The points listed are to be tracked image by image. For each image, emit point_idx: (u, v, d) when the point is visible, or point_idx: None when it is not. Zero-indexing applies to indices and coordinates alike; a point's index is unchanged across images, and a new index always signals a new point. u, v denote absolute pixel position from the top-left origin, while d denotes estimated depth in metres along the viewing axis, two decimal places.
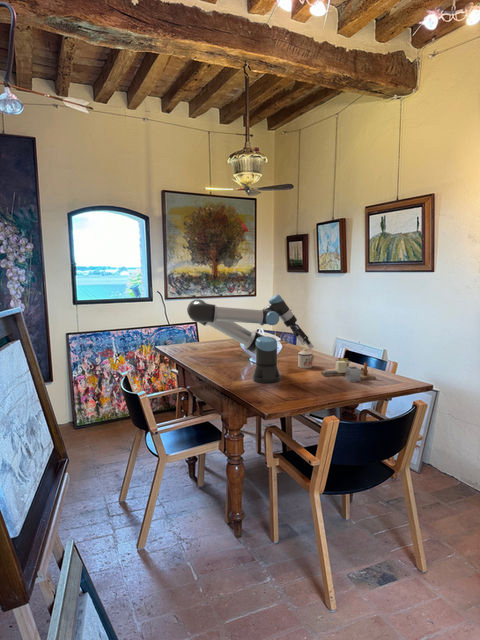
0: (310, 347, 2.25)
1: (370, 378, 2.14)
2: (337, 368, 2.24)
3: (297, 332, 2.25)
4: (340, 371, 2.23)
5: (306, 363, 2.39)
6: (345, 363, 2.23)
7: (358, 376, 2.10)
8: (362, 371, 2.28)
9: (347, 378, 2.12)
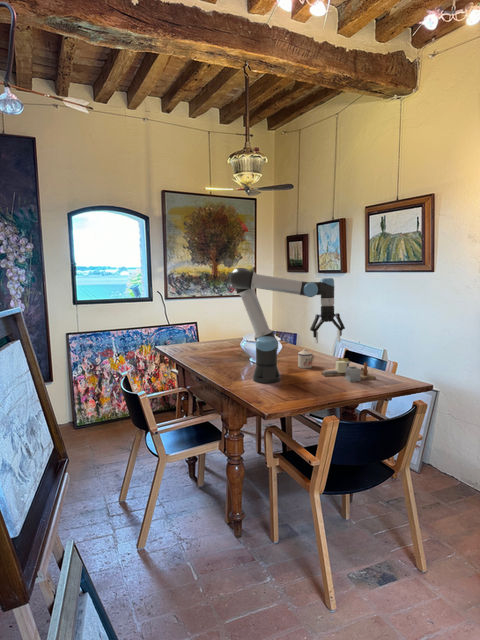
0: (315, 341, 2.21)
1: (370, 378, 2.14)
2: (337, 368, 2.24)
3: None
4: (340, 371, 2.23)
5: (306, 363, 2.39)
6: (345, 363, 2.23)
7: (358, 376, 2.10)
8: (362, 371, 2.28)
9: (347, 378, 2.12)
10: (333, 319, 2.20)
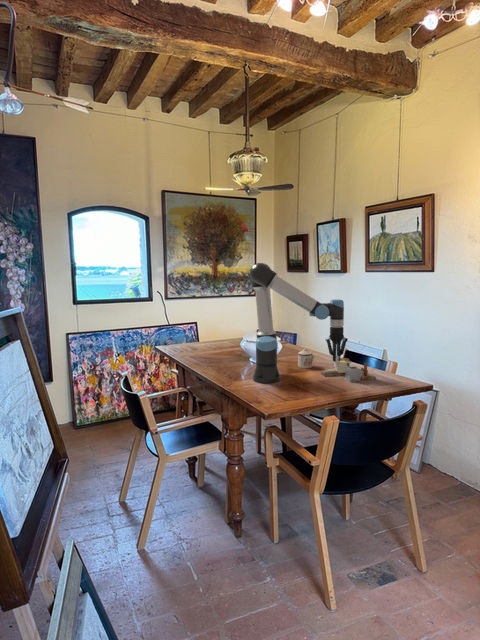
0: (334, 365, 2.25)
1: (370, 378, 2.14)
2: (337, 368, 2.24)
3: None
4: (340, 371, 2.23)
5: (306, 363, 2.39)
6: (345, 363, 2.23)
7: (358, 376, 2.10)
8: (362, 371, 2.28)
9: (347, 378, 2.12)
10: (340, 341, 2.21)
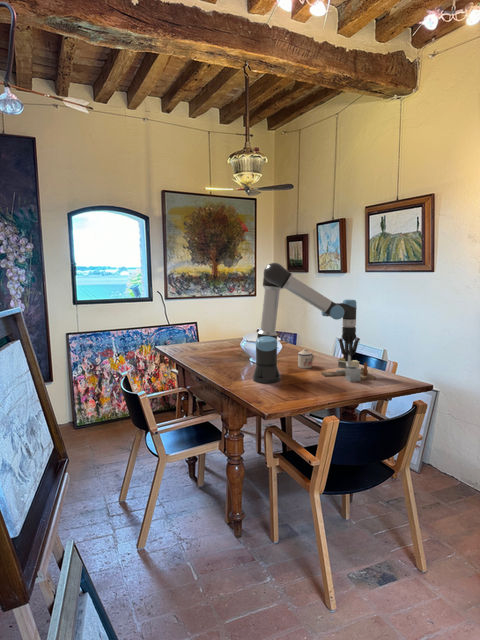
0: (346, 364, 2.26)
1: (370, 378, 2.14)
2: None
3: None
4: None
5: (306, 363, 2.39)
6: (357, 362, 2.24)
7: (358, 376, 2.10)
8: (362, 371, 2.28)
9: (347, 378, 2.12)
10: (352, 341, 2.22)
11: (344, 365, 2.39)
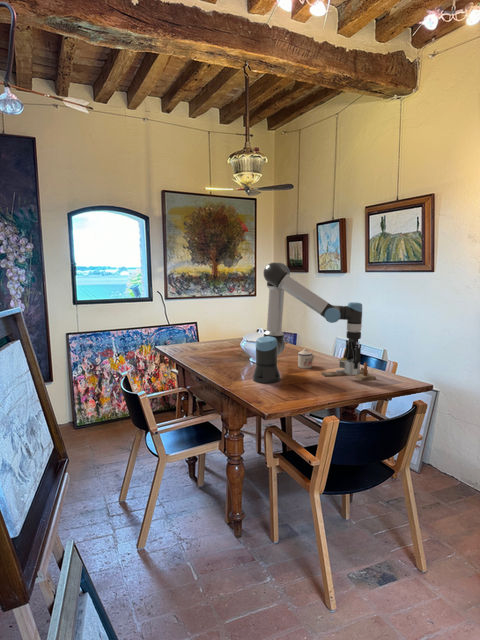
0: (354, 372, 2.09)
1: (370, 378, 2.14)
2: None
3: (353, 350, 2.08)
4: None
5: (306, 363, 2.39)
6: None
7: None
8: (362, 371, 2.28)
9: (346, 371, 2.12)
10: None
11: None
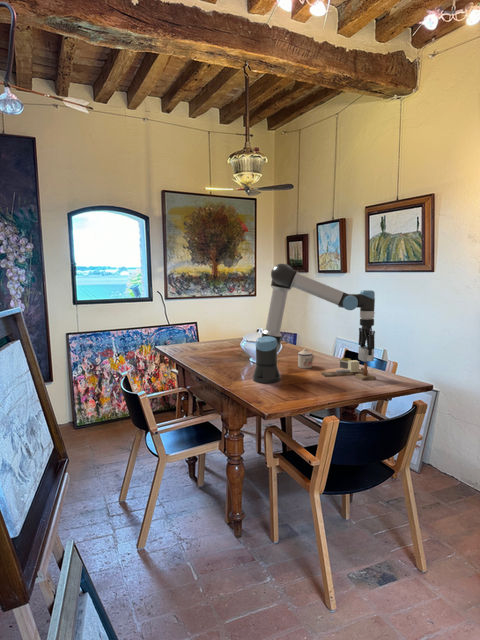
0: (368, 359, 2.12)
1: (370, 378, 2.14)
2: (350, 367, 2.25)
3: (367, 337, 2.11)
4: (353, 370, 2.24)
5: (306, 363, 2.39)
6: (358, 362, 2.24)
7: None
8: (362, 371, 2.28)
9: (360, 358, 2.16)
10: None
11: (346, 365, 2.39)
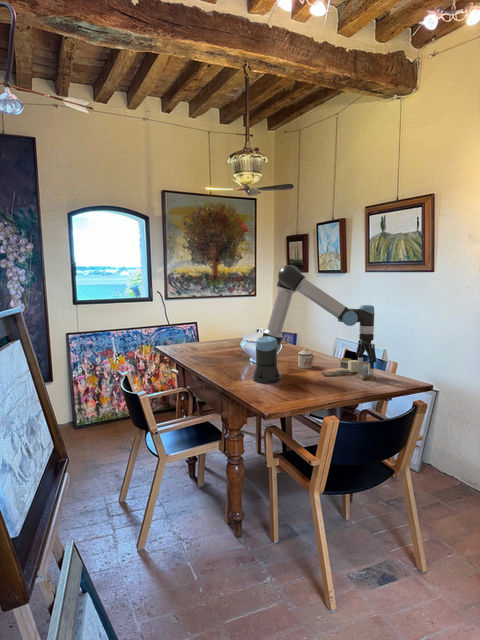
0: (370, 372, 2.10)
1: (370, 378, 2.14)
2: (350, 367, 2.25)
3: (367, 351, 2.11)
4: (353, 370, 2.24)
5: (306, 363, 2.39)
6: None
7: None
8: None
9: (360, 373, 2.17)
10: None
11: (346, 365, 2.39)
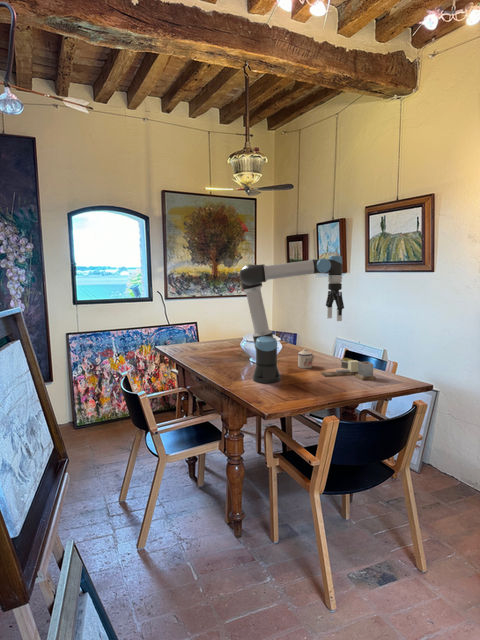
0: (338, 319, 2.18)
1: (370, 378, 2.14)
2: (350, 367, 2.25)
3: (335, 299, 2.19)
4: (353, 370, 2.24)
5: (306, 363, 2.39)
6: None
7: (371, 371, 2.14)
8: None
9: (360, 373, 2.17)
10: None
11: (347, 365, 2.38)
